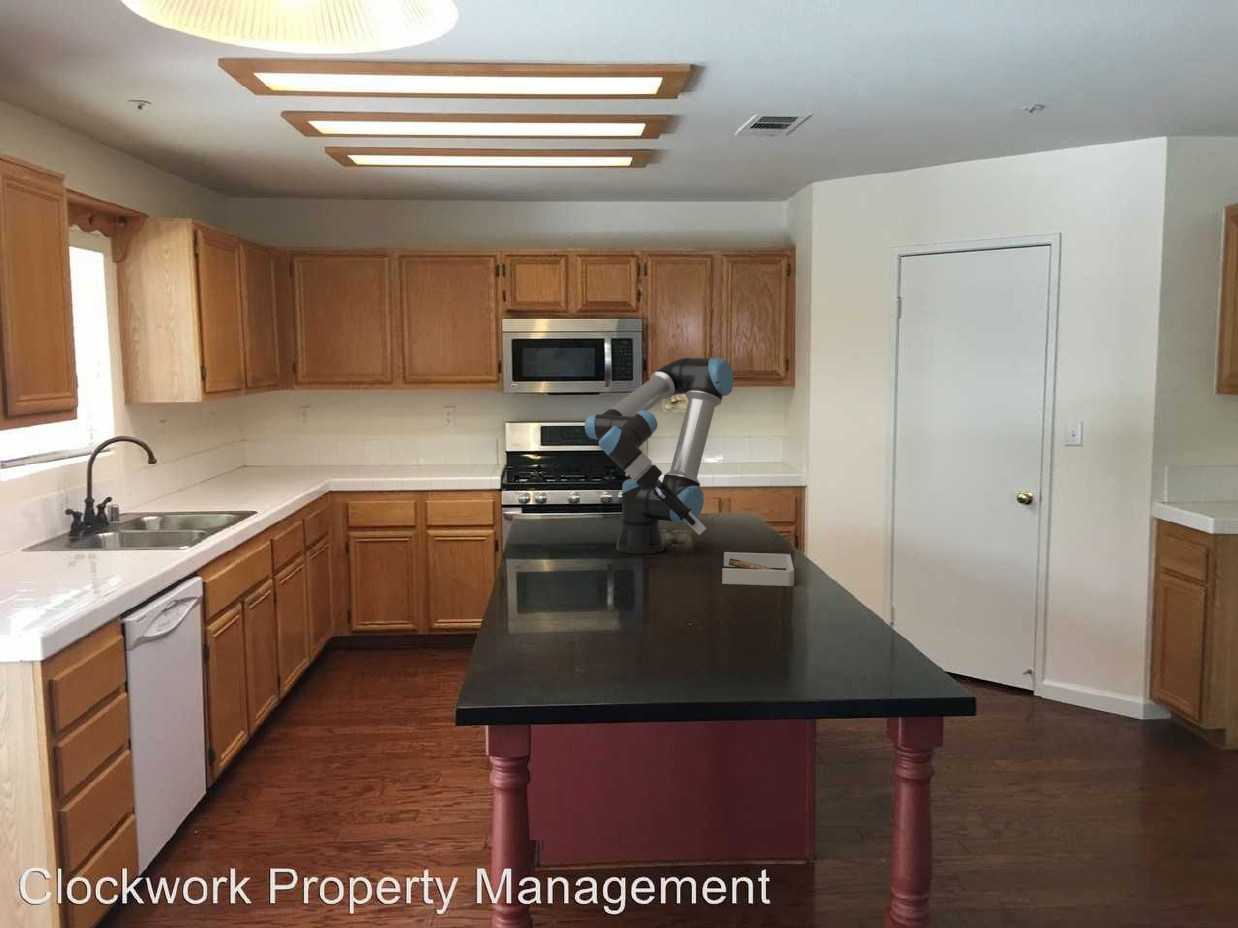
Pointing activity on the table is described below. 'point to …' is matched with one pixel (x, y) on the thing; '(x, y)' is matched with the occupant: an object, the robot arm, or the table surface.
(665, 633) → the table surface
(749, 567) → the ammunition clip
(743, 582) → the box
